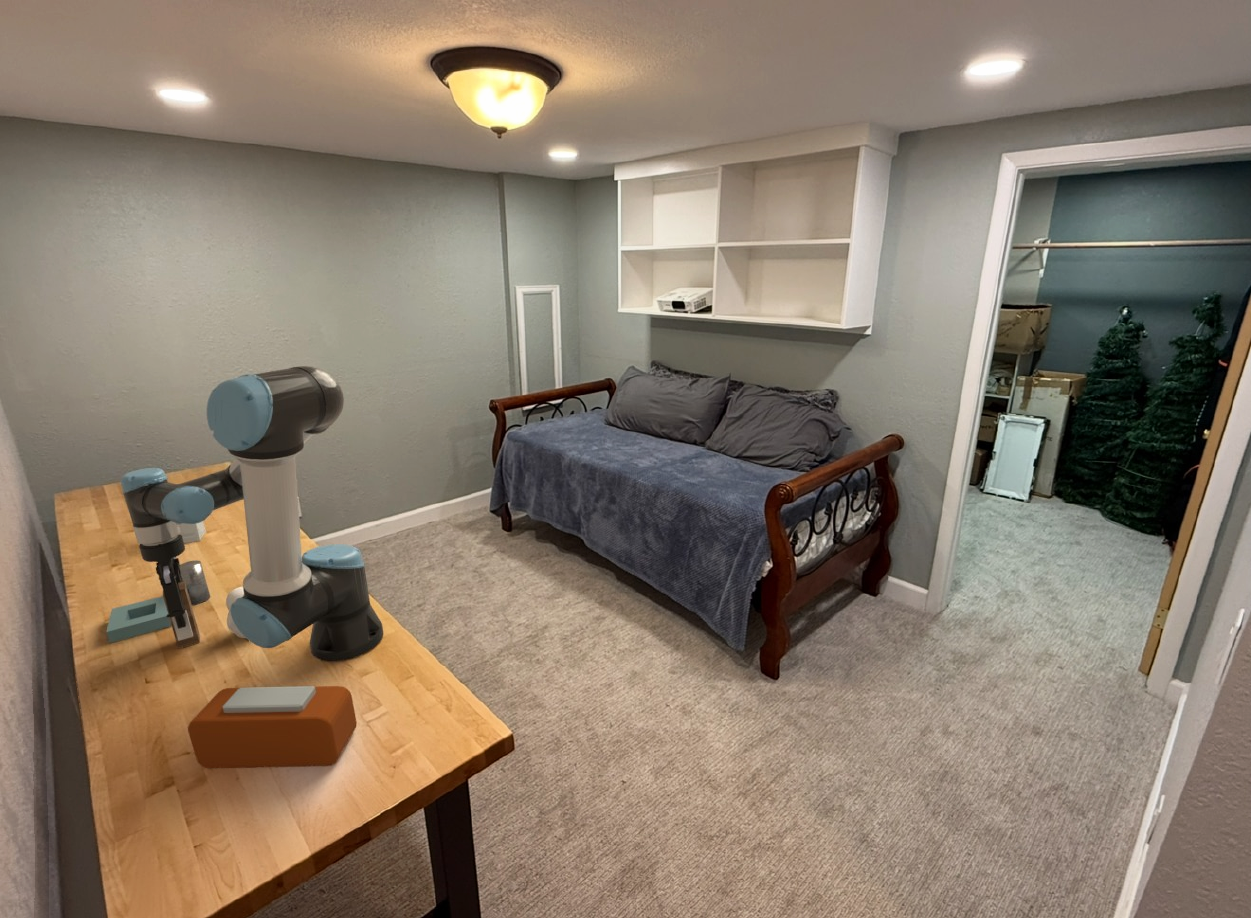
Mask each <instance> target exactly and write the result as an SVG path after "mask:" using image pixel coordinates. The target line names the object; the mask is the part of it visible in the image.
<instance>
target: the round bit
mask: <svg viewBox="0 0 1251 918" xmlns="http://www.w3.org/2000/svg"><path fill="white" fill-rule="evenodd" d="M180 569H181V576H182V579H183V582H185V583H186V587H187V590H188V589H189V598H190V601H191V605H192V606H193V605H199V604H201V603H205V602H206V601H209V600H210V598H211V594H210V590H209V586H208V583H207V579H206V576H205V573H204V569H203V565H202V561H201V560H198V559H197V560H189V561H186V562H183V563H181V564H180Z"/></svg>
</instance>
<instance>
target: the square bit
mask: <svg viewBox="0 0 1251 918" xmlns="http://www.w3.org/2000/svg"><path fill="white" fill-rule="evenodd" d="M179 587H180V591H181V596H182V600H183V604H184V609H185V610H186V611H187V615H188V618H189V622H190V626H191V629H192V633H193V637H190V638H187V639H183V640H180V641H178V638H177V634H176V631H175V628H174V624H173V621H172V617H169V618H170V622H171V625H172V626H171V629H172V632H173V635H174V640H175V642H176V645H177V649H183V648H186V647H190V646H192V645H195V644H200V637H201V636H200V632H199V627H198V623H197V621H196V616H195V612H194V610H193V609H194V608H193V605H191V601H190V598H189V594H188V590H187V587H186V583H185V582H181V583H179ZM162 596H163V598H164V601H165V605H166V608H167V611H168V614H169V610H168V607H167V603H166V599H165V595H164V592H163V591H162Z"/></svg>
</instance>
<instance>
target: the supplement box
mask: <svg viewBox="0 0 1251 918" xmlns="http://www.w3.org/2000/svg"><path fill="white" fill-rule="evenodd" d="M204 523H205V522H204V521H202V522H200V523H196V524H185V523H181V524H179V528H180V535H182V538H183V542H184V544H188V543H195V542H200V541H201V540H202V539H203V536H204V535H205V534H206V532H207V531H206V528H205V524H204Z"/></svg>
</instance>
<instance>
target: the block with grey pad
mask: <svg viewBox="0 0 1251 918" xmlns="http://www.w3.org/2000/svg"><path fill="white" fill-rule="evenodd" d="M356 728H357V717H356V712H355V707H354V701H353V696H352V694H351V691H350V690H349V689H348V688H347V687H345V686H341V685H326V686H324V685H323V686H322V685H321V686H320V685H319V686H313V685H311V686H310V685H309V686H308V685H307V686H306V685H305V686H259V687H255V686H254V687H253V686H251V687H249V686H248V687H227V688H223V689H221V690H220V691H218V693H216V694H215V695H214V696H213V698H212V699H211V700H210V701H208V703H207V704H206V705H205V706H204V707H203V708H202V709H201V710H200V711H199V712H198V713H197V714H196V715H195V717H193V719H192V720H191V721H189V724H188V726H187V732H188V735H189V736H188V737H189V738H190V742H191V746H192V749H193V751H194V752H193V753H194V757H195V759H196V762H197V763H198V765H200V766H201V767H203V768H206V769H244V768H245V769H246V768H247V769H248V768H249V769H250V768H251V769H252V768H253V769H255V768H296V767H297V768H298V767H299V768H302V767H307V768H308V767H329V766H332V765H334V764H335V763H337V761H338V759H339V758H340V756H341V755H342V753H343V750H344V749H345V748H346V746H347V744H348V742H349V741H350V739H351V737H352V735H353V733H354V732H355V730H356Z"/></svg>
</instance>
